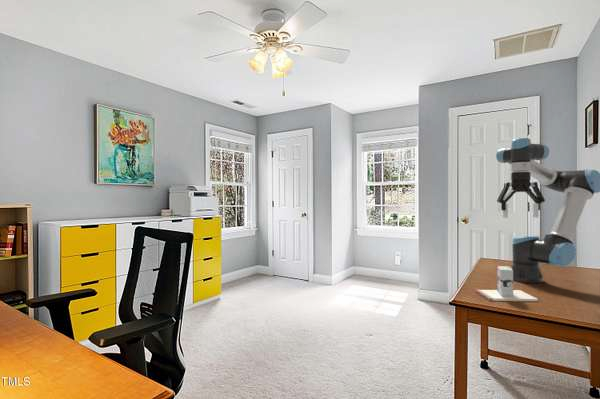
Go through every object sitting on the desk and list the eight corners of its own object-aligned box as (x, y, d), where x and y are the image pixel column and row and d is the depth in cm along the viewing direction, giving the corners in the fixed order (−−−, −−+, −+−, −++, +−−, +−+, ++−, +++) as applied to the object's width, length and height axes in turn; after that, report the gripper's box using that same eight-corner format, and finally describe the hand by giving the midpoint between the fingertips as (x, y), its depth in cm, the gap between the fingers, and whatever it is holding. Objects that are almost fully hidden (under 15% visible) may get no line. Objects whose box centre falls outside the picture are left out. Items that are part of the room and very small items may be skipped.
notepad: (519, 292, 157) (520, 289, 157) (537, 301, 144) (537, 298, 144) (475, 291, 159) (475, 289, 159) (489, 300, 146) (489, 298, 146)
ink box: (497, 290, 157) (497, 265, 156) (509, 292, 155) (509, 266, 154) (500, 296, 149) (500, 269, 148) (513, 297, 147) (513, 270, 147)
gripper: (497, 171, 155) (497, 218, 155) (554, 171, 153) (554, 217, 154) (489, 172, 162) (489, 217, 163) (543, 172, 161) (543, 216, 161)
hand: (520, 217), depth 158 cm, fingers open, 13 cm apart
